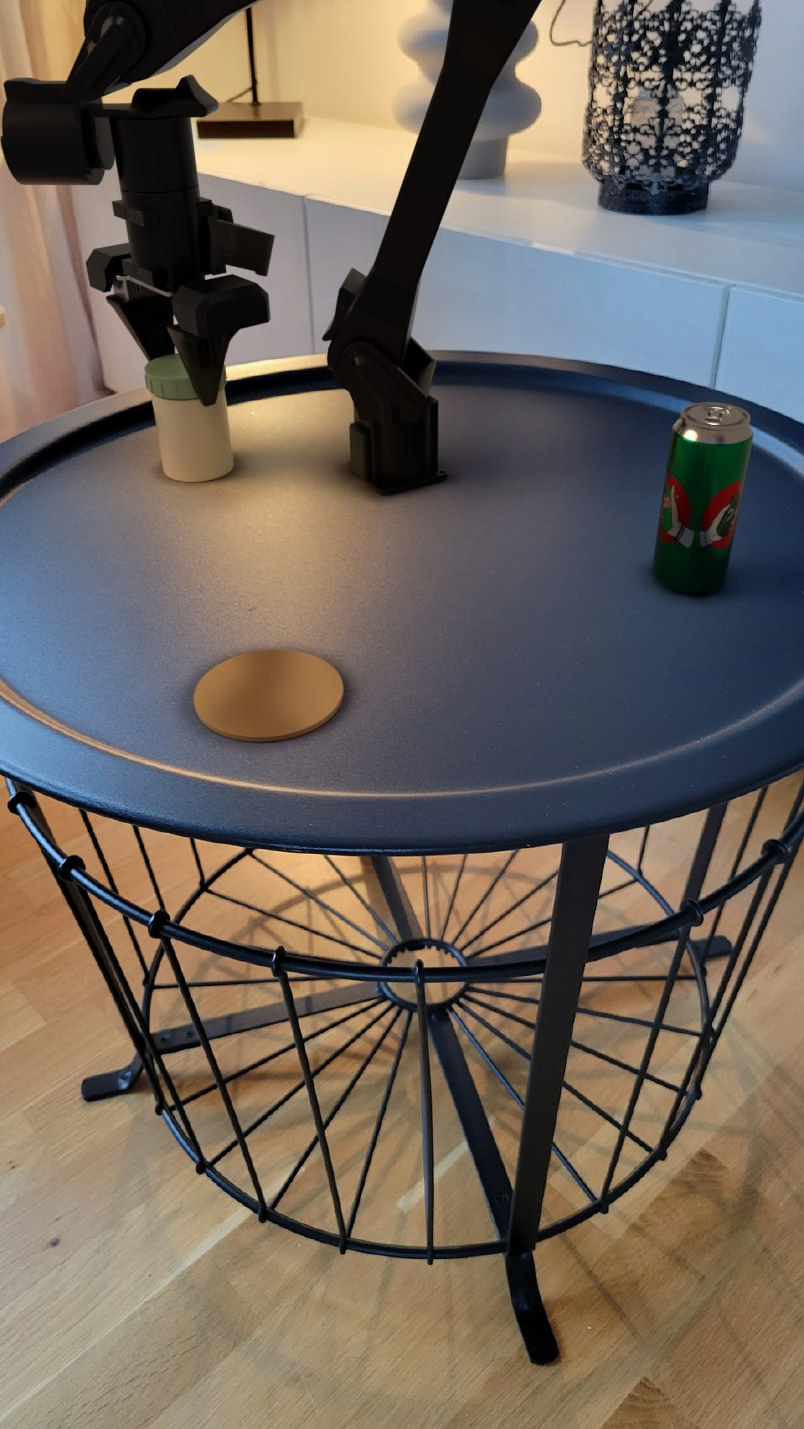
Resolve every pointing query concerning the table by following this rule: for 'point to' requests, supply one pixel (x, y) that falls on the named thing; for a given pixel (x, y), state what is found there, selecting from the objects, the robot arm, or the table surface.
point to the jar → (193, 438)
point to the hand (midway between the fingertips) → (188, 394)
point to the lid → (172, 378)
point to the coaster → (268, 695)
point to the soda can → (701, 496)
